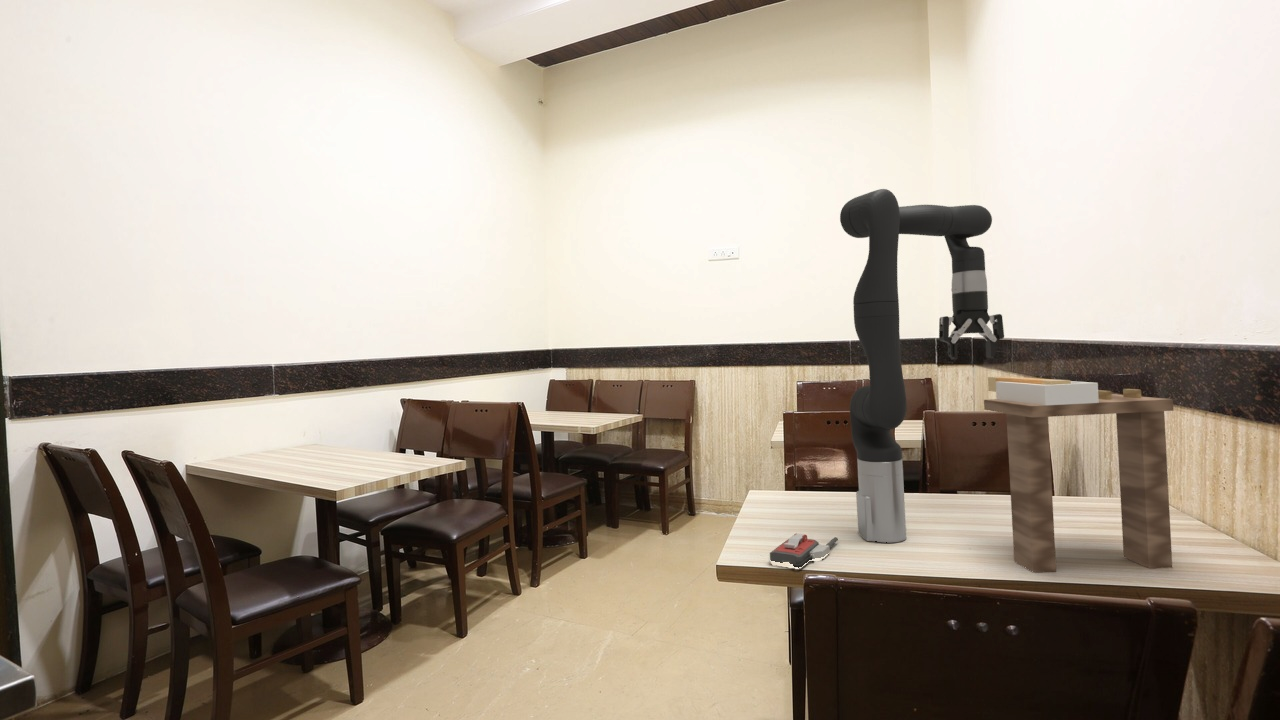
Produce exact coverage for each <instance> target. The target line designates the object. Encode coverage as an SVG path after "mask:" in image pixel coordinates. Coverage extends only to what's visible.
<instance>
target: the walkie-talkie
mask: <svg viewBox="0 0 1280 720" xmlns="http://www.w3.org/2000/svg"><path fill="white" fill-rule="evenodd" d="M838 541H839V538H838V537H833V538H831V540H830V541H829V542H827V543H826V544H820V543H819V541H818V540H816V539H812V538H811V539H810V538H808V534H803V533H797V532H796V533H794V534H793V535H792V536H790V537H789V538H788V539H786V540H785V541H784V542H782V543H781V544H779V545H778V546H777V547H776V548H774V549H772V550H771V551H770V552H769V561H770V560H771V561H775V562H780V563H783V562H789V563H790V564H793V566H794V567H798V568H799V567H802V566H803V565H804V564H805V563H807V562H808V561H809V560H812V559H815V558H821V557H824V556H825V555H826V554H828V553H829V552H830V553H831V551H830V549H831V548H832V547H833V546H834V545H835V544H836V543H837V542H838Z"/></svg>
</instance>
